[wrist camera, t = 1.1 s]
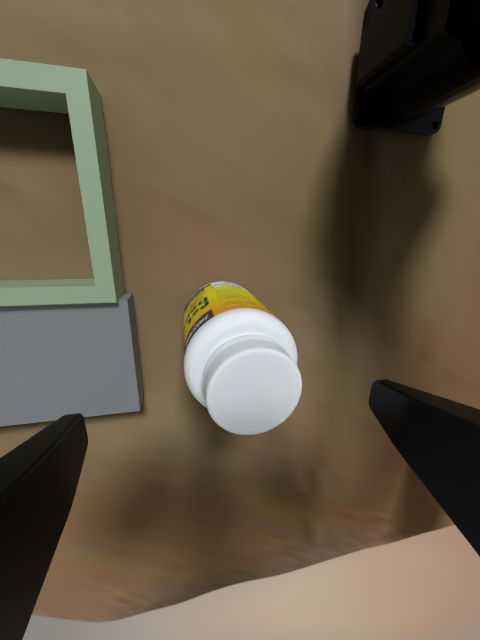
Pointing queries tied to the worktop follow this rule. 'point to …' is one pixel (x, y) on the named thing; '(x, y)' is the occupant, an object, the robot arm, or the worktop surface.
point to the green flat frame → (69, 280)
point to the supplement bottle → (239, 359)
